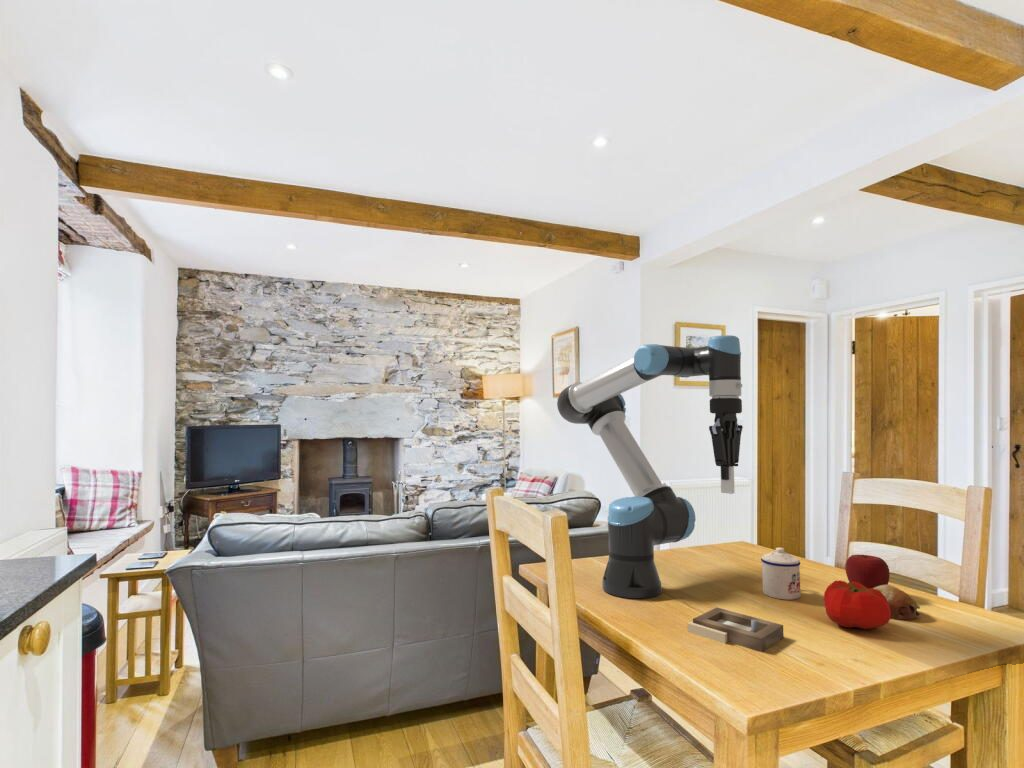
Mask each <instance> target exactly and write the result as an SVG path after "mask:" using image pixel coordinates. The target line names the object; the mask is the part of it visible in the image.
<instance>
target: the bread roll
mask: <svg viewBox="0 0 1024 768" xmlns="http://www.w3.org/2000/svg"><path fill="white" fill-rule="evenodd" d="M873 589H875V590H878V591H880V592H881V593H882V594H883V595H884V596H885V597H886V599H887V601H888V603H889V606H890V610H891V618H890V620H897V621H898V620H899V621H911V620H914V619H916V618H917V617H920V616H921V614H920V612H918V611H917V610H919V609H920V610H921V606H919V605H918V604H917V601H916V600H915V599H914V598H912V596H910V595H909V594H908V593H907V592H905V591H904V590H901V589H900V588H898V587H895V586H894V585H892V584H888V585H881V586H877V587H874V588H873Z"/></svg>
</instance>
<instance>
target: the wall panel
mask: <svg viewBox="0 0 1024 768" xmlns="http://www.w3.org/2000/svg"><path fill="white" fill-rule="evenodd" d="M686 625H687V633H690V634H694V635H696V636H699V637H703V638H706V639H709V640H713V641H715V642H719V643H722V644H727V643H728V641H727V633H725V632H722V631H719V630H715V629H712V628H709V627H705V626H702V625H699V624H695V623H693V621H689V622H687V623H686ZM751 632H754V633H756V632H758V621H756V620H751Z"/></svg>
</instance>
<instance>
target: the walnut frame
mask: <svg viewBox="0 0 1024 768" xmlns="http://www.w3.org/2000/svg"><path fill="white" fill-rule="evenodd" d="M751 620H756V621H758V632H756V633H754V632H751ZM692 623H695V624H699V625H702V626H705V627H709V628H712V629H715V630H719V631H722V632H725V633H727V643H730V644H731V643H732V644H734V645H738V646H741V647H745V648H746V649H747V648H748V649H751V650H754V651H757V652H761V653H762V652H764V651H766V650H767V649H768V648H770V647H771V646H773V645H775V644H776V643H778V642H779V641H780V640H782V639H784V624H780V623H776V622H774V621H769V620H765V619H761V618H757V617H755V616H751V615H746V614H743V613H740V612H736V611H731V610H728V609H724V608H721V607H714V608H713V609H710V610H708V611H707V612H704V613H702V614H700V615H698V616H696V617H694V618H692Z"/></svg>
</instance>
